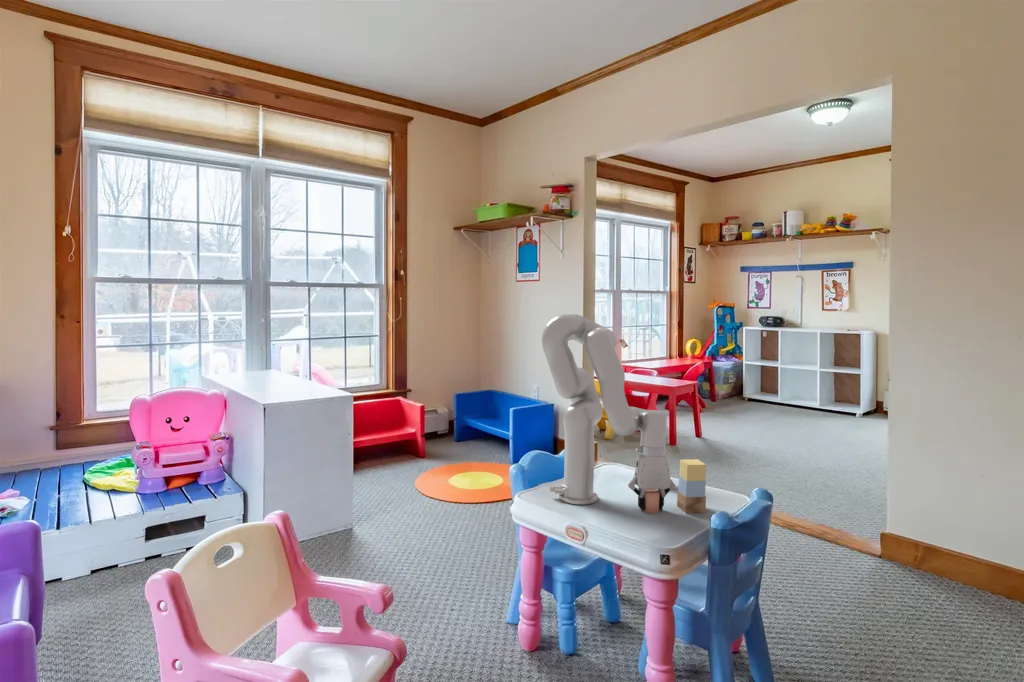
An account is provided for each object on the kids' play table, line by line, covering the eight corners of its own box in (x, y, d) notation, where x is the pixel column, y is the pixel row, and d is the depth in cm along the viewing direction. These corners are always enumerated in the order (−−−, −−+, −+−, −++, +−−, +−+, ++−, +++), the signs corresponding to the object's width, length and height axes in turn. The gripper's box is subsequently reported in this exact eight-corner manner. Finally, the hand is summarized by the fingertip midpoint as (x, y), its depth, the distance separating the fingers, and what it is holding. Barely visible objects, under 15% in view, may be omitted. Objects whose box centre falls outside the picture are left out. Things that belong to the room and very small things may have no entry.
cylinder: (645, 513, 178) (646, 494, 178) (640, 507, 183) (640, 488, 183) (661, 513, 179) (662, 494, 178) (655, 507, 184) (656, 488, 183)
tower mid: (686, 497, 179) (686, 481, 178) (678, 490, 185) (679, 475, 184) (705, 496, 180) (705, 480, 179) (696, 490, 185) (697, 474, 185)
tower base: (685, 513, 179) (685, 497, 179) (677, 506, 185) (677, 490, 185) (705, 513, 180) (705, 497, 179) (696, 505, 186) (697, 490, 186)
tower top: (686, 481, 179) (687, 465, 178) (679, 475, 184) (680, 459, 184) (705, 480, 179) (705, 464, 179) (697, 474, 185) (697, 459, 185)
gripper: (629, 454, 175) (627, 514, 176) (684, 453, 177) (682, 512, 178) (622, 448, 182) (620, 505, 184) (674, 447, 184) (672, 503, 186)
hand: (650, 508), depth 181 cm, fingers closed on cylinder, 4 cm apart
